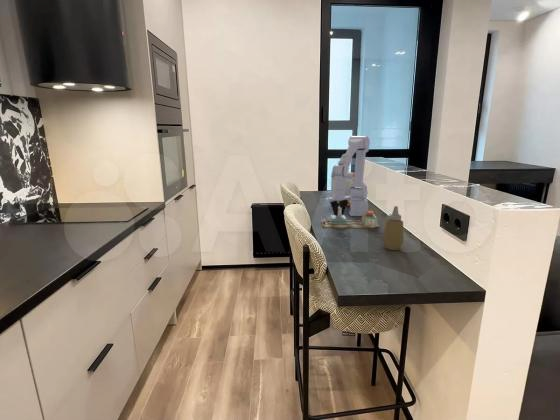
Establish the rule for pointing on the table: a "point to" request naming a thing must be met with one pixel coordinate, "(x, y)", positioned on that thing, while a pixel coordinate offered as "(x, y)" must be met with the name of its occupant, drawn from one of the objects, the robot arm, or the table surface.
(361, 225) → the rail track
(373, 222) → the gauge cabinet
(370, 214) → the button
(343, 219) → the carriage
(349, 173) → the cracker box
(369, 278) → the table surface
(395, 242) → the squeeze bottle
